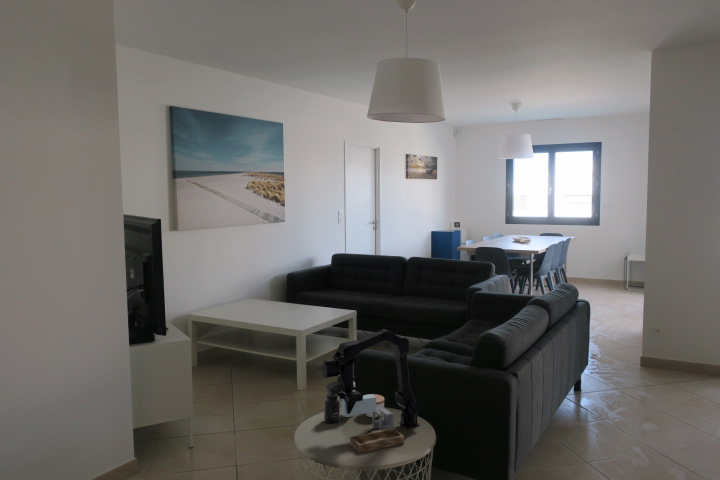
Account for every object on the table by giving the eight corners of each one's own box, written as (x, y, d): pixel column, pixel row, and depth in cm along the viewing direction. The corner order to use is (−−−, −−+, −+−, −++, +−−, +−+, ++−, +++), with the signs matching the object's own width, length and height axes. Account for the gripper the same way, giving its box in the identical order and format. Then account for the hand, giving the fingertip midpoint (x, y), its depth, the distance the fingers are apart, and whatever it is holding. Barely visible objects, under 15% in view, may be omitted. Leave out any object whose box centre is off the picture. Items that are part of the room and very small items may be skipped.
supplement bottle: (337, 424, 235) (337, 397, 235) (322, 423, 237) (322, 396, 236) (341, 418, 242) (341, 392, 241) (326, 417, 243) (326, 391, 243)
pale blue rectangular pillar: (371, 408, 228) (371, 394, 228) (376, 411, 225) (376, 397, 224) (341, 413, 222) (341, 398, 222) (344, 416, 219) (345, 402, 218)
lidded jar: (368, 421, 240) (368, 400, 239) (356, 412, 249) (356, 392, 248) (388, 416, 245) (388, 396, 244) (376, 408, 254) (376, 389, 254)
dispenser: (385, 425, 235) (385, 407, 234) (393, 431, 229) (393, 413, 228) (372, 428, 232) (372, 410, 231) (380, 434, 226) (380, 415, 225)
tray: (393, 435, 225) (393, 428, 225) (403, 443, 217) (404, 435, 217) (349, 444, 216) (350, 437, 216) (359, 452, 208) (359, 445, 208)
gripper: (319, 370, 225) (319, 407, 226) (337, 383, 208) (337, 423, 209) (344, 367, 230) (343, 403, 231) (363, 379, 213) (363, 418, 214)
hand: (346, 411), depth 221 cm, fingers closed on pale blue rectangular pillar, 4 cm apart
